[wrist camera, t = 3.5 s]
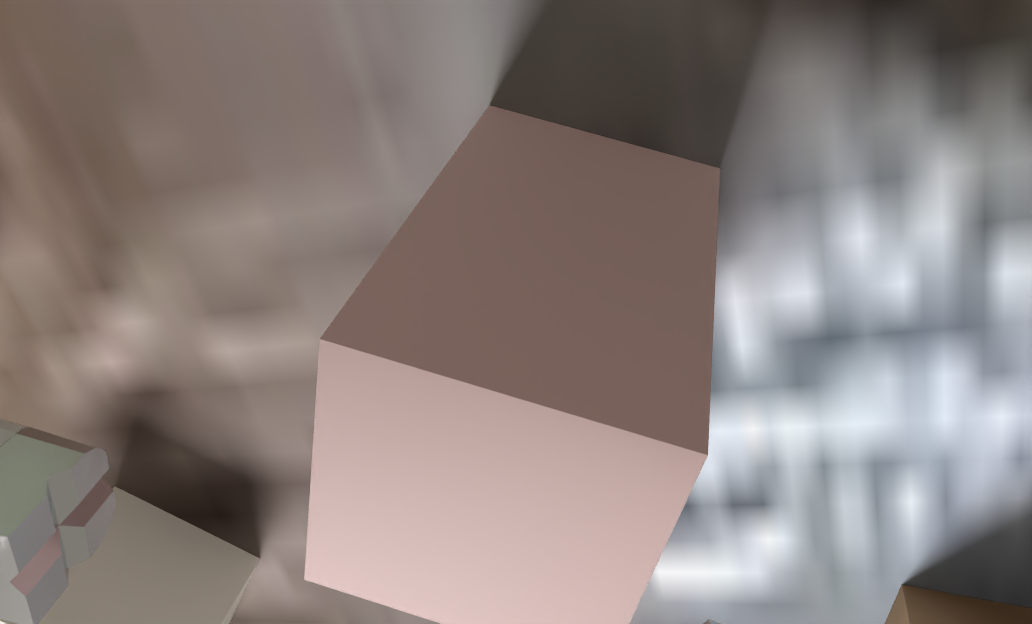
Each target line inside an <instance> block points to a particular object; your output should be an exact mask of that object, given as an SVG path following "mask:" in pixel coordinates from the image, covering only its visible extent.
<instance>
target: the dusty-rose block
mask: <svg viewBox="0 0 1032 624" xmlns="http://www.w3.org/2000/svg"><path fill="white" fill-rule="evenodd" d="M719 182H720V168H717V167H713V166H710V165H706V164H702V163H699V162H695V161H691V160H688V159H684V158H680V157H677V156H673V155H669V154H666V153H662V152H659V151H655V150H651V149H648V148H644V147H640V146H637V145H633V144H629V143H626V142H622V141H618V140H615V139H611V138H607V137H604V136H600V135H596V134H593V133H589V132H585V131H582V130H578V129H574V128H571V127H567V126H563V125H560V124H556V123H552V122H549V121H545V120H542V119H538V118H534V117H531V116H527V115H523V114H520V113H516V112H512V111H509V110H505V109H501V108H498V107H494V106H490V105H489V106H488V108H487V109H486V111H485V112H484V113H483V115H482V116H481V118H480V119H479V120H478V122H477V123H476V124H475V126H474V127H473V129H472V130H471V131H470V133H469V134H468V135H467V137H466V138H465V140H464V141H463V142H462V144H461V145H460V146H459V148H458V149H457V151H456V152H455V153H454V155H453V156H452V157H451V159H450V160H449V162H448V163H447V164H446V166H445V167H444V169H443V170H442V171H441V173H440V174H439V175H438V177H437V178H436V180H435V181H434V182H433V184H432V185H431V186H430V188H429V189H428V191H427V192H426V193H425V195H424V196H423V197H422V199H421V200H420V202H419V203H418V204H417V206H416V207H415V208H414V210H413V211H412V213H411V214H410V215H409V217H408V218H407V220H406V221H405V222H404V224H403V225H402V226H401V228H400V229H399V231H398V232H397V233H396V235H395V236H394V237H393V239H392V240H391V242H390V243H389V244H388V246H387V247H386V248H385V250H384V251H383V253H382V254H381V255H380V257H379V258H378V259H377V261H376V262H375V264H374V265H373V266H372V268H371V269H370V271H369V272H368V273H367V275H366V276H365V277H364V279H363V280H362V282H361V283H360V284H359V286H358V287H357V288H356V290H355V291H354V293H353V294H352V295H351V297H350V298H349V299H348V301H347V302H346V304H345V305H344V306H343V308H342V309H341V310H340V312H339V313H338V315H337V316H336V317H335V319H334V320H333V322H332V323H331V324H330V326H329V327H328V328H327V330H326V331H325V333H324V334H323V335H322V337H321V338H320V343H319V359H318V375H317V390H316V406H315V422H314V437H313V453H312V469H311V484H310V500H309V516H308V531H307V547H306V563H305V578H304V579H305V580H308V581H311V582H314V583H317V584H320V585H323V586H326V587H329V588H332V589H336V590H339V591H342V592H345V593H348V594H351V595H354V596H357V597H360V598H363V599H367V600H370V601H373V602H376V603H379V604H382V605H385V606H388V607H391V608H394V609H398V610H401V611H404V612H407V613H410V614H413V615H416V616H419V617H422V618H426V619H429V620H432V621H435V622H438V623H441V624H629V623H630V621H631V618H632V616H633V614H634V612H635V610H636V608H637V606H638V603H639V601H640V599H641V597H642V595H643V593H644V591H645V588H646V586H647V584H648V582H649V580H650V578H651V576H652V573H653V571H654V569H655V567H656V565H657V563H658V561H659V559H660V556H661V554H662V552H663V550H664V548H665V546H666V544H667V541H668V539H669V537H670V535H671V533H672V531H673V529H674V526H675V524H676V522H677V520H678V518H679V516H680V514H681V511H682V509H683V507H684V505H685V503H686V501H687V499H688V497H689V494H690V492H691V490H692V488H693V486H694V484H695V482H696V479H697V477H698V475H699V473H700V471H701V469H702V467H703V464H704V462H705V460H706V458H707V456H708V439H709V415H710V392H711V369H712V346H713V322H714V299H715V276H716V252H717V229H718V206H719Z"/></svg>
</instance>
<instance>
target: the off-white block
mask: <svg viewBox="0 0 1032 624" xmlns="http://www.w3.org/2000/svg"><path fill="white" fill-rule="evenodd" d="M112 490H113V491H114V497H115V510H114V517H113V521H112V523H111V525H110V527H109V530H108V532H107V534H106V536H105V539H104V541H103V542H102V543H101V545H100V546H99V547H98V549H97V550H96V551H95V552H94V554H93V555H92V556H91V558H89V559H87V560H85V561H83V562H81V563H79V564H77V565H75V566H73V567H71V568H69V586H68V587H67V588H66V589H65V591H64V592H63V593H62V594H61V596H60V597H59V598H58V600H57V601H56V602H55V603H54V605H53V606H52V607H51V608H50V610H49V611H48V612H47V613H46V615H45V616H44V617H43V618H42V620H41V621H40V622H39V623H38V624H229V623H230V621H231V619H232V617H233V614H234V612H235V610H236V608H237V606H238V604H239V602H240V600H241V598H242V596H243V593H244V591H245V589H246V587H247V585H248V583H249V581H250V579H251V577H252V575H253V572H254V570H255V568H256V566H257V564H258V562H259V560H260V558H258V557H256V556H254V555H252V554H250V553H248V552H246V551H244V550H242V549H240V548H238V547H236V546H234V545H232V544H230V543H228V542H226V541H224V540H222V539H220V538H218V537H216V536H214V535H212V534H210V533H208V532H206V531H204V530H202V529H200V528H198V527H196V526H194V525H192V524H190V523H188V522H186V521H184V520H182V519H180V518H178V517H176V516H174V515H172V514H170V513H167V512H165V511H163V510H161V509H159V508H157V507H155V506H153V505H151V504H149V503H147V502H145V501H143V500H141V499H139V498H137V497H135V496H133V495H131V494H129V493H127V492H125V491H123V490H121V489H119V488H117V487H114V488H113V489H112ZM0 624H17V623H14V622H10V621H6V620H2V619H0Z"/></svg>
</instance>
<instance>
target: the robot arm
mask: <svg viewBox="0 0 1032 624" xmlns="http://www.w3.org/2000/svg"><path fill="white" fill-rule="evenodd" d="M109 468H110V467H109V463H108V459H107V454H106V450H102V449H99V448H96V447H93V446H89V445H86V444H83V443H80V442H76V441H73V440H70V439H67V438H63V437H60V436H57V435H54V434H50V433H47V432H44V431H41V430H37V429H34V428H31V427H28V426H24V425H21V424H18V423H14V422H11V421H7V420H4V419H0V619H2V620H6V621H10V622H14V623H17V624H38V623H39V622H40V621H41V620H42V618H43V617H44V616H45V615H46V613H47V612H48V611H49V610H50V608H51V607H52V606H53V605H54V603H55V602H56V601H57V600H58V598H59V597H60V596H61V594H62V593H63V592H64V591H65V589H66V588H67V587H68V586H69V568H71V567H73V566H75V565H77V564H79V563H81V562H83V561H85V560H87V559H89V558H91V556H92V555H93V554H94V552H95V551H96V550H97V549H98V547H99V546H100V545H101V543H102V542H103V541H104V539H105V536H106V534H107V532H108V530H109V527H110V525H111V523H112V521H113V517H114V510H115V497H114V491H113V490H112V488H111V487H110V486H109V485H108V484H107V483H106V481H105V480H104V479H103V478H102V476H103V475H104V474H105V473H106V472H107V470H108V469H109ZM703 624H725V623H722V622H718V621H714V620H710V619H709V620H707V621H706V622H705V623H703Z"/></svg>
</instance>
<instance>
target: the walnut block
mask: <svg viewBox="0 0 1032 624" xmlns="http://www.w3.org/2000/svg"><path fill="white" fill-rule="evenodd" d="M885 624H1032V608H1027V607H1022V606H1016V605H1011V604H1005V603H1000V602H994V601H989V600H984V599H978V598H973V597H967V596H962V595H956V594H951V593H946V592H940V591H935V590H929V589H924V588H918V587H913V586H908V585H901V588H900V590H899V592H898V595H897V597H896V599H895V601H894V604H893V606H892V608H891V610H890V613H889V615H888V617H887V620H886V622H885Z"/></svg>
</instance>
